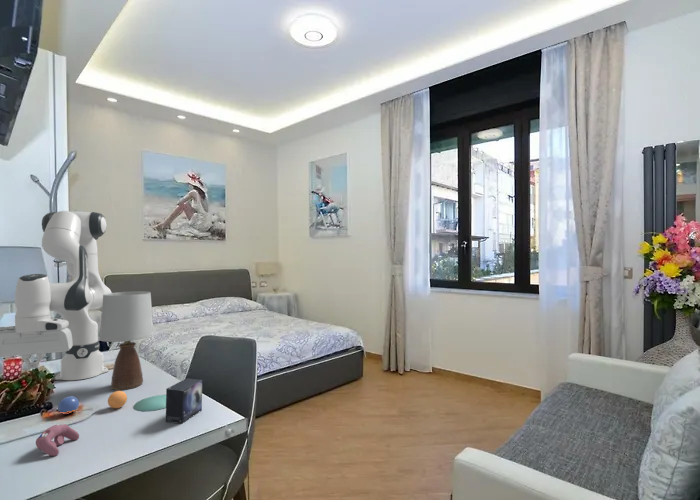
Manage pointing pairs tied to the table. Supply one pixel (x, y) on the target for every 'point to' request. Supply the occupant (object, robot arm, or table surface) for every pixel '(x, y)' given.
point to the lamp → (126, 333)
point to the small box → (183, 400)
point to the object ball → (117, 399)
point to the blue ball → (68, 404)
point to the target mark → (151, 403)
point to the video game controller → (55, 438)
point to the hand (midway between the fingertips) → (33, 368)
